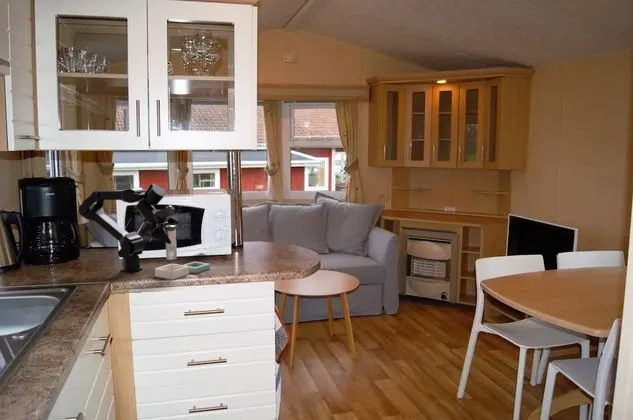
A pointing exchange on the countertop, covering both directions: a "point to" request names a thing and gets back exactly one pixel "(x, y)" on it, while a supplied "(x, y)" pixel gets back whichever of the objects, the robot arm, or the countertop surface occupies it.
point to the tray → (171, 271)
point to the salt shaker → (171, 248)
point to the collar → (197, 266)
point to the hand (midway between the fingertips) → (173, 242)
